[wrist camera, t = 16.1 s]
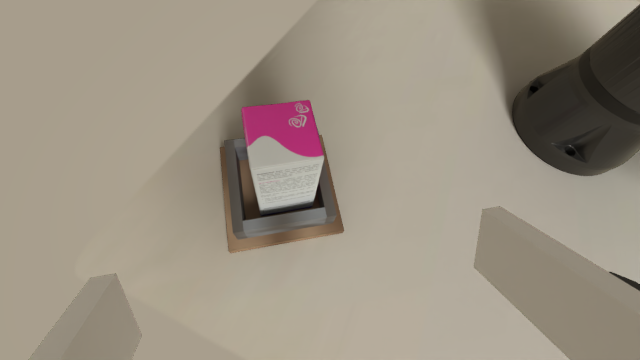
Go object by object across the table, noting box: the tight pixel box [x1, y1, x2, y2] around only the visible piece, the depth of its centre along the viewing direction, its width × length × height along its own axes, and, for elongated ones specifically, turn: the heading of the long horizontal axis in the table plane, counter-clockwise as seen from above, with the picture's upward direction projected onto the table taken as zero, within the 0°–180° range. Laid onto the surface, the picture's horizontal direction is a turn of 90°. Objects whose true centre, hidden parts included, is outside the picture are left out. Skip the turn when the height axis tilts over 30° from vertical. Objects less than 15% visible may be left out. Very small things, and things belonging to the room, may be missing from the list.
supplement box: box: [241, 100, 324, 216], centre depth 28 cm, size 6×6×12 cm
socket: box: [220, 135, 344, 253], centre depth 33 cm, size 12×12×4 cm
